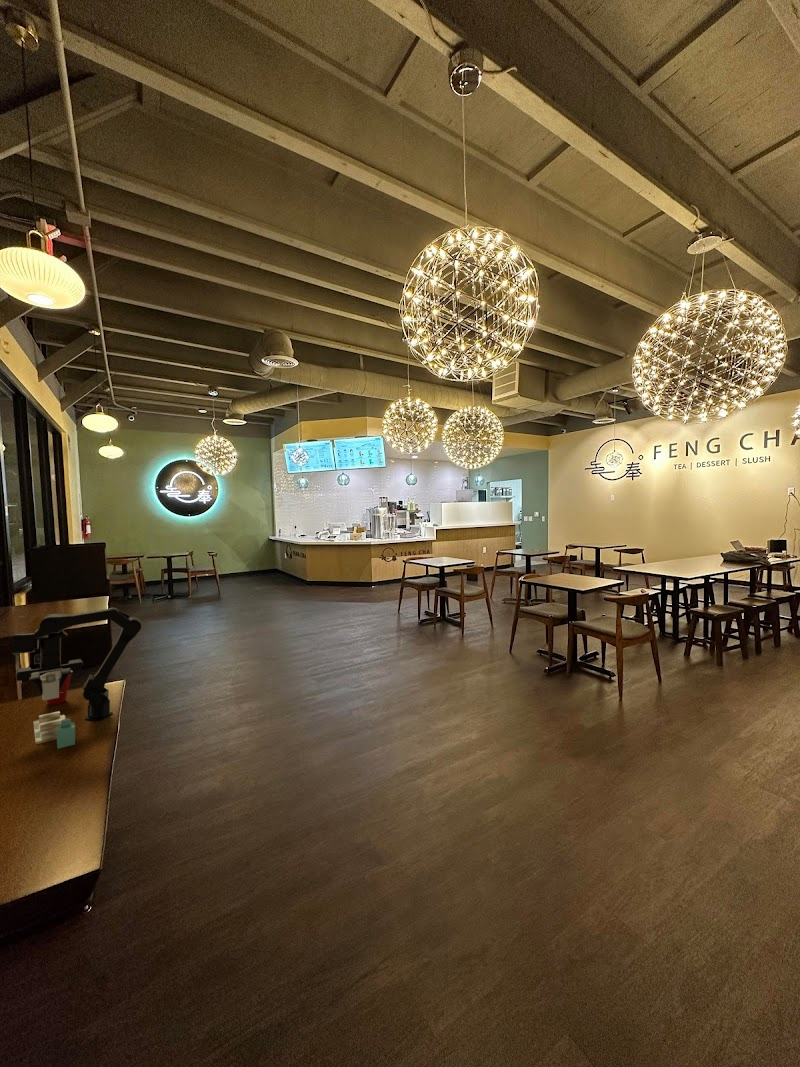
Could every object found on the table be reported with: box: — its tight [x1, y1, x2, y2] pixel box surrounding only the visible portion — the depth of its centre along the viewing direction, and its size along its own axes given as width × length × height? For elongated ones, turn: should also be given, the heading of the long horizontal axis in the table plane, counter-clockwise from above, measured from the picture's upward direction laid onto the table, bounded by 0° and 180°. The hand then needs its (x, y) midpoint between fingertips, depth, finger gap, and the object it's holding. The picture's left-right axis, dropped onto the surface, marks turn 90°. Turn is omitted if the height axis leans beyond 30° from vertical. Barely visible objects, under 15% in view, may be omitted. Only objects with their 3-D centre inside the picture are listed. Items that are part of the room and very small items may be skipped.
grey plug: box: [41, 674, 59, 701], centre depth 156 cm, size 4×4×8 cm
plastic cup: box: [40, 670, 74, 706], centre depth 176 cm, size 11×11×12 cm
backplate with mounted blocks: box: [32, 710, 67, 745], centre depth 154 cm, size 9×19×3 cm, turn 42°
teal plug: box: [56, 718, 76, 749], centre depth 145 cm, size 4×4×8 cm
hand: (50, 692), depth 156 cm, fingers closed on grey plug, 4 cm apart
